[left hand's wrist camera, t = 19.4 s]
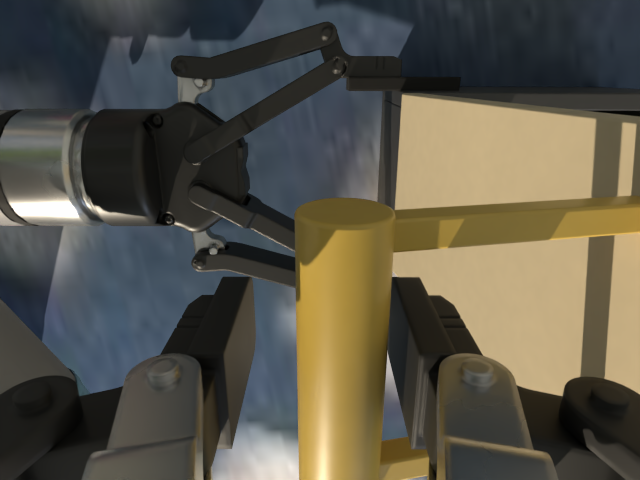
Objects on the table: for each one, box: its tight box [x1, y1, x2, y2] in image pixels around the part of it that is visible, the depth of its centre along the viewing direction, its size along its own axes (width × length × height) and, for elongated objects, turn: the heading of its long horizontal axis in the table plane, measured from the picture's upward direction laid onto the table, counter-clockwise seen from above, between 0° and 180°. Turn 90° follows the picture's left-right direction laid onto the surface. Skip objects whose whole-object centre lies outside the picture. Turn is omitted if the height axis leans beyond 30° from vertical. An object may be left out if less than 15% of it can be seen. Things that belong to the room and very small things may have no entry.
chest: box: [378, 87, 640, 210], centre depth 30 cm, size 16×10×11 cm, turn 90°
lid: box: [295, 93, 640, 480], centre depth 16 cm, size 17×10×9 cm
